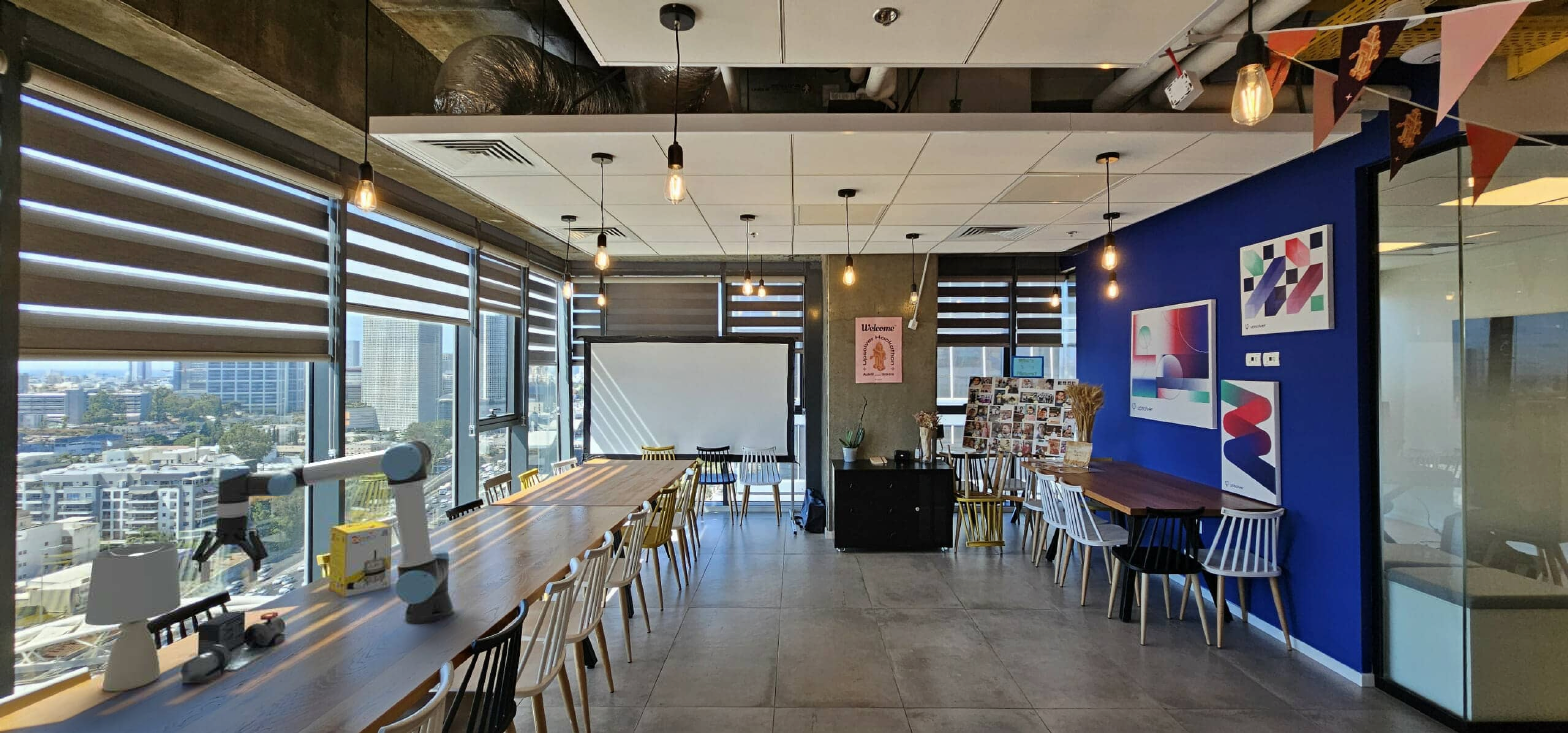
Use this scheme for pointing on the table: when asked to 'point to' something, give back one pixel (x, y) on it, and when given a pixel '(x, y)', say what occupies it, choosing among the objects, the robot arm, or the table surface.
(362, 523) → the packaging box
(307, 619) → the table surface
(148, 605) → the lamp
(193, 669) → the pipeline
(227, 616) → the small box
